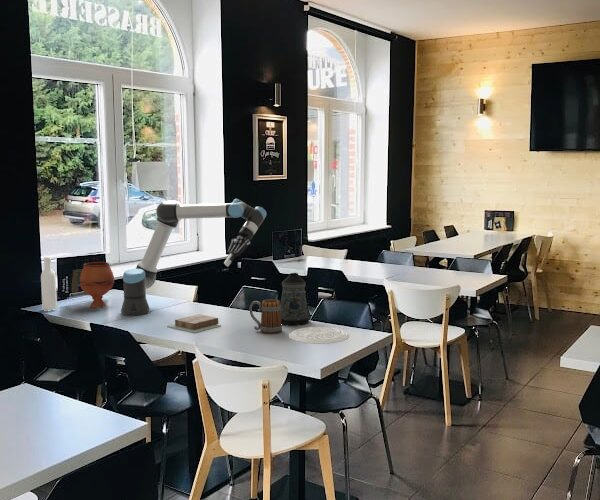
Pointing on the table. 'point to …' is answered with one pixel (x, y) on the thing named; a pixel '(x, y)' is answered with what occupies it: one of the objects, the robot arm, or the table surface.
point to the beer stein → (294, 301)
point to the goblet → (96, 281)
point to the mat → (192, 329)
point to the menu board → (196, 321)
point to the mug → (268, 316)
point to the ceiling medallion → (318, 335)
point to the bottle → (48, 286)
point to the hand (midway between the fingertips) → (226, 264)
